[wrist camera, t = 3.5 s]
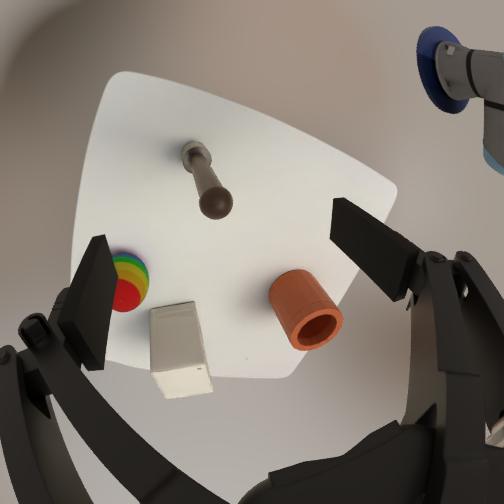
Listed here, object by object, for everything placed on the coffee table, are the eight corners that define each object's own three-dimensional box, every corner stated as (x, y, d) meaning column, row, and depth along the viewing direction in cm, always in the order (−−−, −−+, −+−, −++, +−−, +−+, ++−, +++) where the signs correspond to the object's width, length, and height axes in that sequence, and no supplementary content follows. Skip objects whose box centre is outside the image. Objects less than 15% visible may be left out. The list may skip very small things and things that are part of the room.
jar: (316, 265, 54) (347, 302, 44) (312, 303, 59) (337, 341, 49) (268, 275, 52) (292, 317, 42) (268, 314, 57) (288, 356, 47)
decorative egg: (155, 254, 44) (154, 291, 35) (142, 292, 47) (140, 331, 38) (110, 240, 40) (97, 275, 32) (100, 279, 43) (90, 318, 35)
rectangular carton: (148, 307, 49) (148, 372, 36) (195, 300, 50) (206, 363, 38) (160, 339, 53) (164, 400, 41) (201, 333, 55) (214, 392, 43)
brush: (205, 139, 37) (243, 179, 18) (207, 163, 39) (246, 228, 20) (180, 143, 36) (188, 186, 17) (183, 166, 38) (195, 236, 19)
